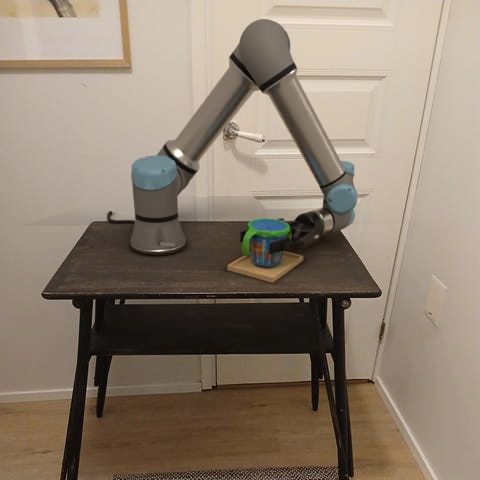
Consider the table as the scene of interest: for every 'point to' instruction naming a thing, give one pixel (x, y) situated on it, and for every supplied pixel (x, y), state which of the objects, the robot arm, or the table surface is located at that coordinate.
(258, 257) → the snack cup
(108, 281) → the table surface
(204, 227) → the table surface
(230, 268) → the tray
